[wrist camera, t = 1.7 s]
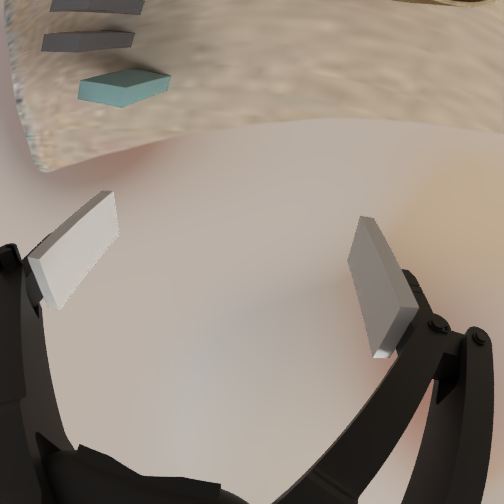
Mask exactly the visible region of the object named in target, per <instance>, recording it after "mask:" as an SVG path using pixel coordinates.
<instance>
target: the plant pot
mask: <svg viewBox="0 0 504 504" xmlns="http://www.w3.org/2000/svg"><path fill="white" fill-rule="evenodd" d="M394 1H402V2H410V3H421V4H435V5H447V6H460V7H479V6H484V5H489V4H491V3H494V2H496V1H497V0H394Z"/></svg>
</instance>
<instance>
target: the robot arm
mask: <svg viewBox="0 0 504 504" xmlns="http://www.w3.org/2000/svg"><path fill="white" fill-rule="evenodd" d="M119 235H120V234H119V227H118V221H117V215H116V207H115V200H114V191H101V192H100V193H99V194H97V195H96V196H95V197H94V198H92V199H91V200H90V201H89V202H87V203H86V204H85V205H84V206H83V207H81V208H80V209H79V210H78V211H77V212H75V213H74V214H73V215H72V216H71V217H69V218H68V219H67V220H66V221H65V222H64V223H63V224H62V225H60V226H59V227H58V228H57V229H56V230H55V231H54V232H52V233H51V234H49V235H48V236H46V238H44V239H43V240H42V242H40V243H39V244H38V245H37V247H35V248H34V249H33V250H32V251H31V252H30V253H29V254H28V255H27V256H26V257H25V258H24V259H23V260H21V257H20V254H19V251H18V248H17V245H16V244H12V243H11V244H6V245H4V246H2V247H0V504H249V503H247V502H246V501H245V500H243V499H241V498H240V497H238V496H236V495H234V494H232V493H230V492H228V491H225V490H223V489H221V484H218V483H211V482H206V481H200V480H195V479H189V478H184V477H153V476H142V475H140V474H137V473H136V472H134V471H132V470H131V469H129V468H127V467H126V466H124V465H123V464H121V463H120V462H118V461H116V460H115V459H113V458H112V457H110V456H108V455H106V454H103V453H100V452H98V451H95V450H92V449H90V448H88V447H85V446H83V445H81V444H79V447H78V450H74V448H73V446H72V445H71V443H70V441H69V440H68V439H67V436H66V434H65V432H64V428H63V425H62V421H61V418H60V414H59V411H58V407H57V402H56V398H55V394H54V389H53V385H52V380H51V375H50V369H49V363H48V357H47V351H46V345H45V336H44V328H43V317H42V308H41V306H40V303H39V302H40V301H41V300H42V298H44V301H45V303H46V305H47V307H48V308H51V309H54V310H58V311H60V309H61V308H62V307H63V305H64V304H65V303H66V301H67V300H68V298H69V297H70V296H71V294H72V293H73V292H74V290H75V289H76V288H77V286H78V285H79V284H80V282H81V281H82V280H83V279H84V277H85V276H86V275H87V273H88V272H89V271H90V270H91V268H92V267H93V266H94V265H95V263H96V262H97V261H98V260H99V258H100V257H101V256H102V255H103V254H104V252H105V251H106V250H107V249H108V248H109V246H110V245H111V244H112V243H113V242H114V240H115V239H116V238H117V237H118V236H119ZM348 264H349V267H350V271H351V274H352V278H353V281H354V285H355V288H356V291H357V296H358V299H359V303H360V307H361V311H362V315H363V319H364V323H365V327H366V331H367V335H368V339H369V344H370V348H371V352H372V357H373V358H390V357H391V355H392V353H393V351H394V350H395V349H396V351H397V354H398V357H397V359H396V360H395V362H394V364H393V365H392V366H391V368H390V369H389V371H388V372H387V374H386V375H385V377H384V378H383V380H382V381H381V383H380V384H379V386H378V387H377V388H376V390H375V391H374V393H373V394H372V395H371V397H370V398H369V399H368V401H367V402H366V404H365V405H364V406H363V407H362V409H361V410H360V411H359V413H358V414H357V415H356V416H355V418H354V419H353V420H352V421H351V423H350V424H349V425H348V426H347V428H346V429H345V430H344V431H343V432H342V433H341V435H340V436H339V437H338V438H337V440H336V441H335V442H334V443H333V444H332V445H331V446H330V447H329V448H328V449H327V451H326V452H325V453H324V454H323V455H322V456H321V457H320V458H319V459H318V460H317V461H316V462H315V463H314V465H313V466H312V467H311V468H310V469H309V470H308V471H307V472H306V473H305V474H304V475H303V476H302V477H301V478H300V479H299V480H298V481H296V482H295V484H293V485H292V486H291V487H290V488H289V489H288V490H287V491H286V492H284V493H283V494H282V495H281V496H280V497H279V498H278V499H276V500H275V501H274V502H273V503H272V504H358V498H359V496H360V495H361V493H362V492H363V491H364V489H365V488H366V487H367V485H368V484H369V483H370V482H371V480H372V479H373V478H374V476H375V475H376V474H377V472H378V471H379V469H380V468H381V466H382V465H383V463H384V462H385V461H386V459H387V458H388V456H389V455H390V453H391V452H392V450H393V449H394V447H395V445H396V444H397V442H398V441H399V439H400V437H401V436H402V434H403V433H404V431H405V429H406V428H407V426H408V424H409V422H410V421H411V419H412V417H413V415H414V413H415V412H416V410H417V408H418V406H419V404H420V402H421V400H422V398H423V396H424V394H425V392H426V390H427V388H428V386H429V384H430V382H431V380H432V379H434V385H433V391H432V397H431V402H430V407H429V412H428V417H427V421H426V426H425V430H424V434H423V438H422V442H421V446H420V449H419V453H418V456H417V460H416V463H415V466H414V469H413V472H412V475H411V478H410V481H409V484H408V487H407V490H406V492H405V495H404V498H403V500H402V503H401V504H481V501H482V496H483V492H484V488H485V483H486V478H487V471H488V466H489V459H490V451H491V442H492V431H493V415H494V372H493V371H494V370H493V354H492V343H491V340H490V338H489V336H488V334H487V333H486V332H485V331H484V330H482V329H480V328H478V327H475V326H474V327H470V328H469V329H468V330H467V331H466V333H465V334H461V333H457V332H454V331H451V328H450V326H449V324H448V322H447V321H446V320H445V319H444V318H442V317H441V316H439V315H437V314H433V312H432V309H431V307H430V305H429V304H428V301H427V299H426V297H425V295H424V294H423V291H422V289H421V287H419V286H420V285H419V284H418V281H417V279H416V278H415V276H414V275H412V273H410V271H409V270H404V269H401V268H400V266H399V264H398V262H397V260H396V258H395V256H394V254H393V252H392V250H391V249H390V247H389V245H388V243H387V241H386V239H385V237H384V236H383V234H382V232H381V230H380V229H379V227H378V225H377V224H376V221H375V220H374V218H370V217H363V216H360V218H359V222H358V226H357V229H356V233H355V237H354V240H353V244H352V247H351V250H350V254H349V257H348Z"/></svg>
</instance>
